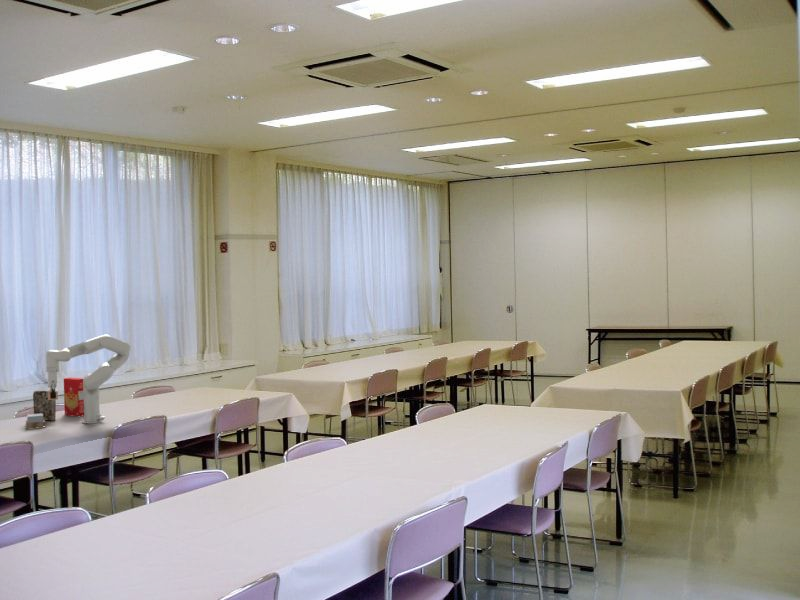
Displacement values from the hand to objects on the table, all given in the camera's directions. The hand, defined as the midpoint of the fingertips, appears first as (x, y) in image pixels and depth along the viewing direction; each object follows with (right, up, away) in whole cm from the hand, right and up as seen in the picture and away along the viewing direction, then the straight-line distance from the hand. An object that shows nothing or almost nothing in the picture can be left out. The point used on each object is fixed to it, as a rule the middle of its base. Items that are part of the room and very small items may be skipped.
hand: (52, 397), depth 518 cm
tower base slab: (-9, -19, -4) cm, 21 cm away
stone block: (-13, -17, +17) cm, 28 cm away
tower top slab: (-9, -15, -4) cm, 18 cm away
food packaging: (0, -17, +36) cm, 40 cm away
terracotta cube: (0, -1, 0) cm, 1 cm away
